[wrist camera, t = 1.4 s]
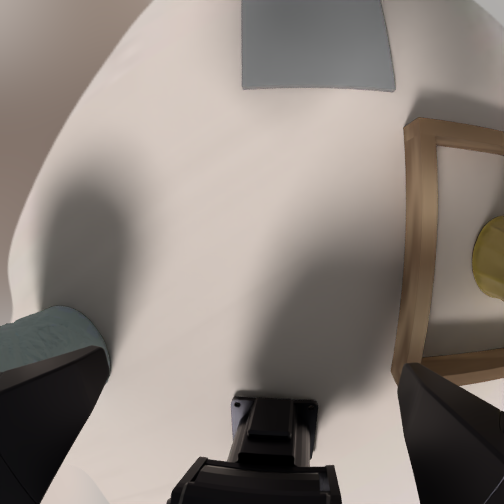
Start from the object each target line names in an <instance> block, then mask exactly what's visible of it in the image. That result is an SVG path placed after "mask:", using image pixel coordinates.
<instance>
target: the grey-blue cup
mask: <svg viewBox="0 0 504 504" xmlns="http://www.w3.org/2000/svg"><path fill="white" fill-rule="evenodd" d="M91 345H94V346H100V347H102V348H104V350H105V353H106V357H107V361H108V365H109V369H110V359H109V356H108V351H107V347H106V345H105V342H104V340H103V338H102V336H101V335H100V333H99V332H98V330H97V329H96V327H95V326H94V325H93V324H92V323H91V321H90V320H89V319H88V318H87V317H85V316H84V315H83V314H82V313H80V312H79V311H77V310H75V309H73V308H70V307H67V306H53V307H50V308H48V309H45V310H43V311H40V312H38V313H35V314H32V315H29V316H26V317H23V318H21V319H18V320H16V321H15V322H14V323H8V324H5V325H2V326H0V372H4V371H7V370H10V369H14V368H17V367H21V366H24V365H28V364H31V363H35V362H38V361H41V360H45V359H48V358H52V357H55V356H58V355H62V354H65V353H68V352H71V351H75V350H78V349H81V348H84V347H88V346H91ZM109 376H110V374H109ZM107 381H108V379H107ZM107 381H106V383H107ZM106 383H105V384H106Z"/></svg>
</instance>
